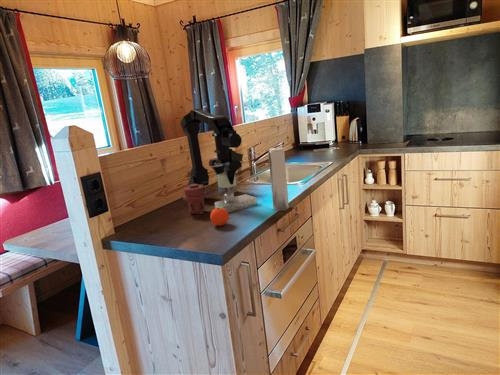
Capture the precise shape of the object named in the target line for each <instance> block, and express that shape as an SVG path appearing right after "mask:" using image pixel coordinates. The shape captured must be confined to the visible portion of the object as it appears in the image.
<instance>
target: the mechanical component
mask: <svg viewBox="0 0 500 375" xmlns="http://www.w3.org/2000/svg"><path fill="white" fill-rule="evenodd" d="M183 190H184V192H183V193H184V194H183V195H182V196H183V197H182V199H183V201H186V202H187V206H188V211H189V214H190V215H195V214H200V215H201V214H204V210H205V209H206V205H205V199H204V198H206V197H208V194H207V192H206V191H205V192H204V186H203V185H198V184H191V185H189V186H188V185H187V186H185V187H184V188H183Z"/></svg>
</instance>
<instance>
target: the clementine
mask: <svg viewBox="0 0 500 375" xmlns="http://www.w3.org/2000/svg"><path fill="white" fill-rule="evenodd" d="M224 208H225V207H224ZM224 208H223V207H218V208H215V207H214V209H212V211H211V212H210V216H209V218H210V221H211V223H212V224H213V225H215V226H216V227H222V226H224V225H226V224H227V223H228V222H229V212H227V211H226V210H227V209H226V210H225V209H224Z"/></svg>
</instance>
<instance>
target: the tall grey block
mask: <svg viewBox="0 0 500 375" xmlns="http://www.w3.org/2000/svg"><path fill="white" fill-rule="evenodd" d="M267 155H268V165H269V167H268V168H269V176H270V187H271V188H270V189H271V197H272V198H271V199H272V207H273V211H277V212H284V211H287V210H289V209H290V205H289V204H290V203H289V194H288V193H289V192H288V179H287V178H288V177H287V169H286V168H287V167H286V159H285V158H286V156H285V150H284V147H273V148H269V151H267Z"/></svg>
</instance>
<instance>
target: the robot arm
mask: <svg viewBox="0 0 500 375" xmlns="http://www.w3.org/2000/svg"><path fill="white" fill-rule="evenodd" d="M202 123H204V124H206V125H208V128H209V129H210V130H211V131H212V134H211V137H214V145H215V150H213V153H215V154H216V155H217V158H215V159H214V158H211V159H209V161H208V166H209V167H211V169H212V170H213V171H214V173H215V175H216V174H217V175H218V174H220V173H224V171H225V173H226V175H227V178H228V180H229V182H230V184H231V185H232V184H233V182H234V177H236V172H238V170H239V169H241V168H242V167H243V163H242V162H243V157H244V154H243V153H240V152H239V153H238V152H236V150H233V149H234V148H235V149H237V148H239V147H240V146H241V144H242V137H241V135H240V134H238V133H237V130H235V129H234V126H233V125H232V124H231V122H230V120H229V118H228V117H227V116H226V115H221V114H219V115H217V114H216V115H215V114H212V113H210V112H208V111H205V110H204V109H202V108H201V107H200V108H199V107H198V108H193V109H191V110H190V111H189V112H187V114H185V115H184V116H183V117H182V118H181V120H180V126H181V129H182V132H183V133H184V135H185V136H186V137H187V143H188V148H189V154H190V160H191V166H192V167H191V169H190V172H189V176H190V178H189V181H188V183H187V187H188V186H189V185H191V184H198V185H203V186H204V192H206V186H209V183H210V182H209V180H210V176H209V171H208V169H207V168H205V167H204V165H203V160H202V159H203V158H202V153H201V152H202V151H201V147H200V141H199V133H200V130H201V127H200V126H201V124H202ZM224 168H225V170H224ZM217 175H216V176H217ZM207 199H210V197H209V196H207V197H206V198H204V200H207Z"/></svg>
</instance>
